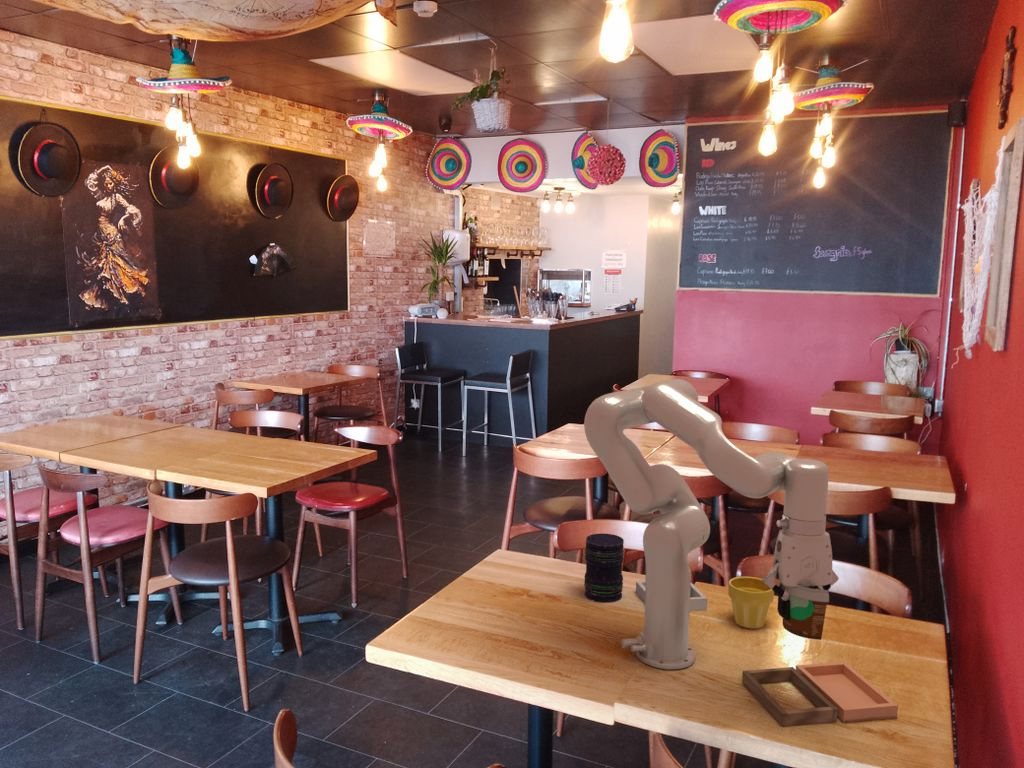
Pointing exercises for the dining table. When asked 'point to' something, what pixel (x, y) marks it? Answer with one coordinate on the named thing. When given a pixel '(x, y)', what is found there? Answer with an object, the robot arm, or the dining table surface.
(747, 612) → the plant pot
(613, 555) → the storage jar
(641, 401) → the robot arm
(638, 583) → the grey parts rim
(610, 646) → the dining table surface
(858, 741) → the dining table surface
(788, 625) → the food container
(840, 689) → the terracotta tray
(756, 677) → the walnut stand frame
